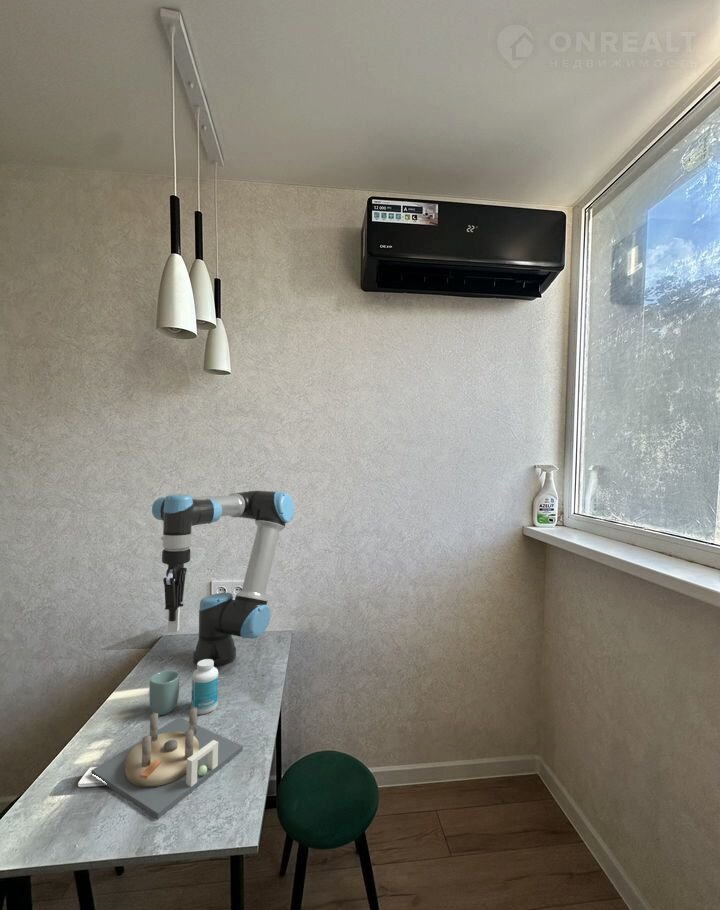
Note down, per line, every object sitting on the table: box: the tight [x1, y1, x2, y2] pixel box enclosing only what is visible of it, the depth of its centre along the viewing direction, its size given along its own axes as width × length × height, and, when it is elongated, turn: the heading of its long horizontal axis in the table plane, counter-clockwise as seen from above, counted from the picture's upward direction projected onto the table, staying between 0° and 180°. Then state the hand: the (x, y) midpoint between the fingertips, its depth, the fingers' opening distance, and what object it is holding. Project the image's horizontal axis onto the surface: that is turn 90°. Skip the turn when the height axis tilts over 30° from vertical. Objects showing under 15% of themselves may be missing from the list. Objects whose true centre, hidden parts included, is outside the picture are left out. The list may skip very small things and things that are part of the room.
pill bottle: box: [190, 659, 219, 715], centre depth 126 cm, size 8×7×14 cm
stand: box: [90, 716, 244, 820], centre depth 104 cm, size 24×24×7 cm
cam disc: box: [125, 707, 199, 787], centre depth 102 cm, size 17×16×8 cm
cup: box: [148, 669, 180, 716], centre depth 125 cm, size 8×8×10 cm
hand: (173, 630), depth 122 cm, fingers closed
